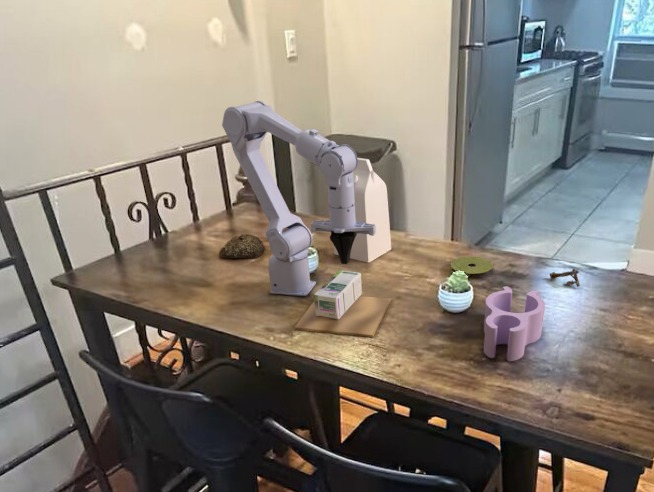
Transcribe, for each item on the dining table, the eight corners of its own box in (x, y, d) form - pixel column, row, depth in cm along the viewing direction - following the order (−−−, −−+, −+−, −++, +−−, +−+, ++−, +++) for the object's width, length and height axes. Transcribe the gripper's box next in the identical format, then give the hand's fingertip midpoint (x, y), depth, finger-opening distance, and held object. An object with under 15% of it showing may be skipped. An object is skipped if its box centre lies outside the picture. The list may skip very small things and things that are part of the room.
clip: (530, 365, 120) (534, 334, 116) (470, 354, 123) (471, 324, 120) (546, 320, 135) (549, 292, 132) (491, 311, 139) (494, 284, 135)
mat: (481, 283, 152) (482, 276, 151) (442, 274, 157) (442, 267, 156) (499, 268, 160) (500, 261, 159) (461, 259, 165) (462, 253, 164)
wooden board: (294, 329, 133) (294, 327, 133) (320, 294, 148) (320, 292, 148) (372, 337, 130) (372, 334, 129) (391, 300, 145) (391, 298, 144)
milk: (391, 249, 173) (389, 156, 159) (368, 262, 164) (364, 166, 151) (357, 241, 178) (353, 151, 164) (333, 254, 170) (326, 160, 156)
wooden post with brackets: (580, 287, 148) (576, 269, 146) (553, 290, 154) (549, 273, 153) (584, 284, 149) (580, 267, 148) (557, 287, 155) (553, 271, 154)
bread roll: (260, 260, 167) (257, 243, 164) (216, 260, 167) (213, 243, 165) (269, 243, 178) (267, 227, 175) (228, 243, 178) (225, 227, 176)
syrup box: (361, 272, 144) (336, 296, 132) (362, 294, 147) (338, 320, 135) (339, 269, 145) (312, 293, 134) (341, 291, 148) (315, 317, 137)
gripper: (304, 208, 129) (309, 266, 136) (369, 212, 127) (371, 271, 134) (314, 198, 135) (319, 255, 142) (377, 202, 132) (379, 259, 140)
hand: (345, 262), depth 138 cm, fingers closed
